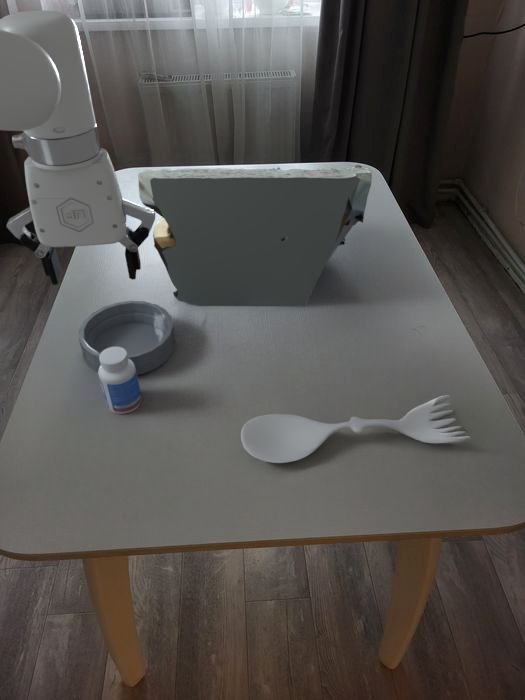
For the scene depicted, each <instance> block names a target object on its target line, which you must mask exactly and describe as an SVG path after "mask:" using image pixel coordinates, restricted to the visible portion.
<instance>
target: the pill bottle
mask: <svg viewBox="0 0 525 700" xmlns="http://www.w3.org/2000/svg"><path fill="white" fill-rule="evenodd" d="M99 360H100V365H101V366H100V368H99V371H98V372H97V374H98V377H99V382H100V385H101V389H102V392H103V396H104V401H105V403H106V406H107V408H108V409H109V411H111V412H112V413H114V414H118V415H123V414H129V413H132V412H134V411H135V410H137V409H138V408H139V407H140V406H141V403H142V401H143V400H142V399H143V397H142V392H141V388H140V382H139V378H138V377H139V376H138V375H137V373H136V369H135V365H134V363H133V362H132V361H131V360H130V359H128V355H127V352H126V350H125V349H123V348H121V347H110V348H107V349H105V350H104V351H102V352H101V354H100V356H99Z"/></svg>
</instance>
